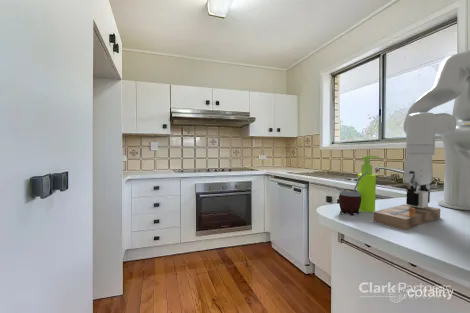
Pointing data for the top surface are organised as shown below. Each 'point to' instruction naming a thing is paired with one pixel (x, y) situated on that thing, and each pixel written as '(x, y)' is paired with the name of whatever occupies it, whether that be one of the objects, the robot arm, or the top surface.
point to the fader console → (406, 216)
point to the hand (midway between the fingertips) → (418, 203)
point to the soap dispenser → (367, 186)
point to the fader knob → (422, 199)
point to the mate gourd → (350, 200)
